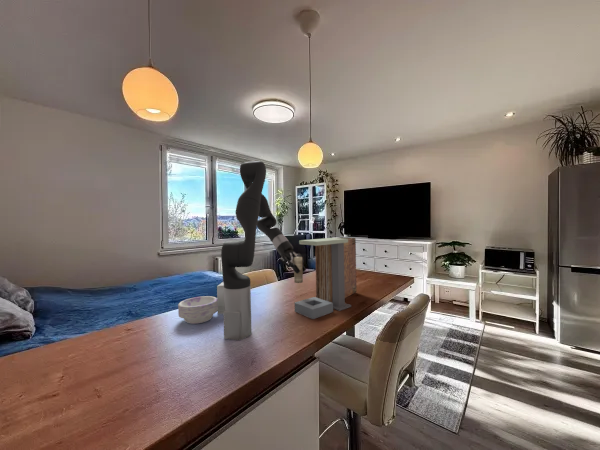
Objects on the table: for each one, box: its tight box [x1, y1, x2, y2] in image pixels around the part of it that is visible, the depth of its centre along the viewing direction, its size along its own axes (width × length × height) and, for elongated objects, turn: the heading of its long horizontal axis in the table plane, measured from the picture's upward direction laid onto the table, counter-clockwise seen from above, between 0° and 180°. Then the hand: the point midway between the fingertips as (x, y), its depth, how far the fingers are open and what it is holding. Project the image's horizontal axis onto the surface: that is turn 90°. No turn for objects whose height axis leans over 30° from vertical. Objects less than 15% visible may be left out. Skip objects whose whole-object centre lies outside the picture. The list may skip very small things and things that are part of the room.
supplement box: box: [216, 281, 224, 315], centre depth 112 cm, size 7×7×13 cm
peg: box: [293, 256, 304, 284], centre depth 120 cm, size 4×4×12 cm
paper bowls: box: [177, 295, 218, 325], centre depth 103 cm, size 15×15×8 cm
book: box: [314, 236, 358, 303], centre depth 129 cm, size 25×9×30 cm, turn 140°
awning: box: [298, 237, 352, 312], centre depth 111 cm, size 11×22×32 cm, turn 129°
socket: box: [293, 296, 334, 320], centre depth 109 cm, size 12×12×4 cm
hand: (301, 271), depth 119 cm, fingers closed on peg, 4 cm apart
